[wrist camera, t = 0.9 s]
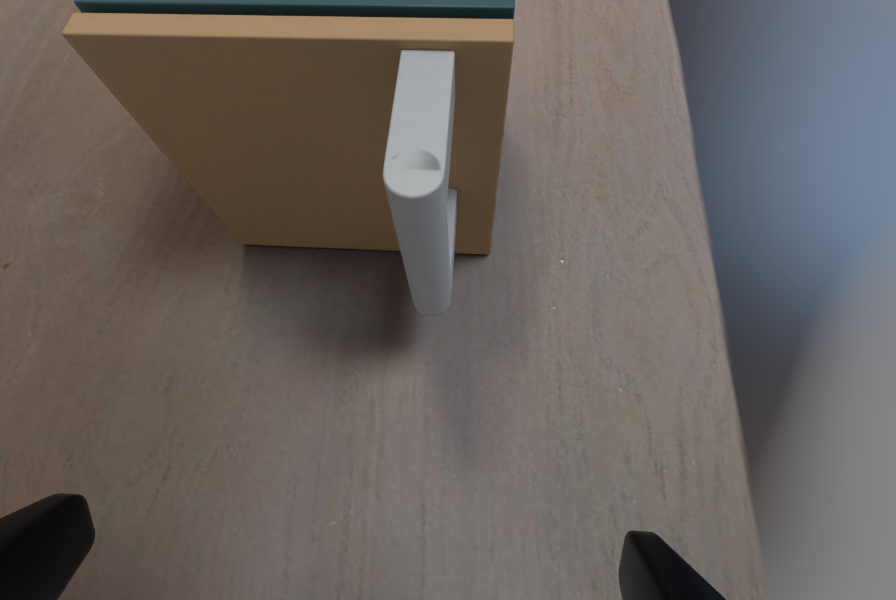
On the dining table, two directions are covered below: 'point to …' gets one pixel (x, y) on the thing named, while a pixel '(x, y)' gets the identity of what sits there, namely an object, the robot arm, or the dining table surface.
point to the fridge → (310, 8)
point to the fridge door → (323, 125)
